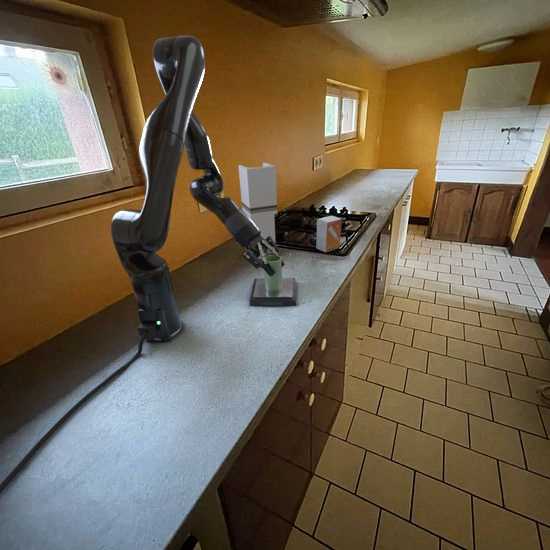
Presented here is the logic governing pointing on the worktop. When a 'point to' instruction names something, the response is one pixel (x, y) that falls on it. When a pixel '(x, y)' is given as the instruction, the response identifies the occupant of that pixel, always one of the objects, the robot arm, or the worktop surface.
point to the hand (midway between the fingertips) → (278, 270)
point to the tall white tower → (260, 197)
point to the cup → (276, 280)
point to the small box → (328, 233)
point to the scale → (273, 293)
